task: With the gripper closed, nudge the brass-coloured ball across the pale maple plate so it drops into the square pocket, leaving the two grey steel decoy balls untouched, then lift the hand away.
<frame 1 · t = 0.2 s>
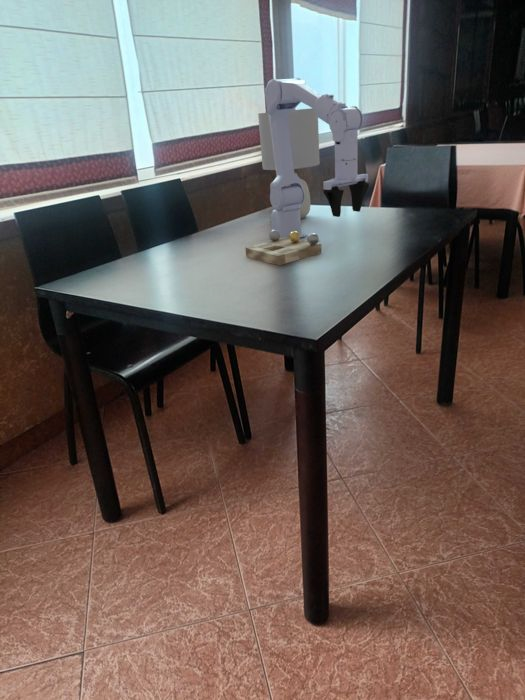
hand: (346, 213, 132), 10 cm above the table, fingers open, 7 cm apart
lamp: (294, 218, 184), on the table
decoy b: (312, 238, 134), point 4 cm above the table, touching plate
ball: (294, 236, 138), point 4 cm above the table, touching plate
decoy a: (274, 235, 142), point 4 cm above the table, touching plate
plate: (283, 254, 138), on the table
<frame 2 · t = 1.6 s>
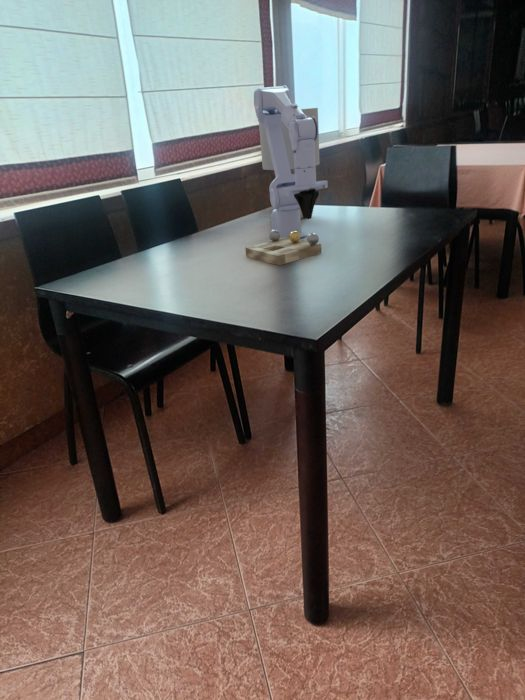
hand: (307, 218, 139), 8 cm above the table, fingers closed
nothing on the table moved.
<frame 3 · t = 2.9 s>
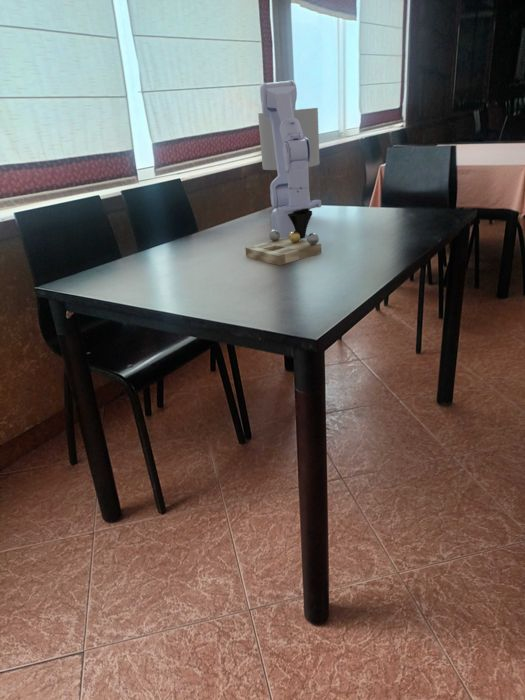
hand: (301, 237, 140), 3 cm above the table, fingers closed, pressing on ball
ball: (294, 236, 138), point 4 cm above the table, touching gripper, plate
everything else where it was.
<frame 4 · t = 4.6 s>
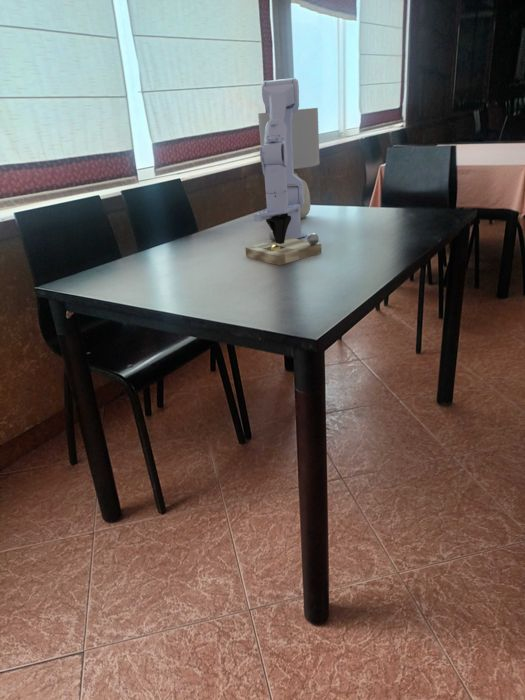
hand: (280, 243, 136), 3 cm above the table, fingers closed
ball: (275, 250, 136), point 2 cm above the table, tilted 120°
everything else where it was.
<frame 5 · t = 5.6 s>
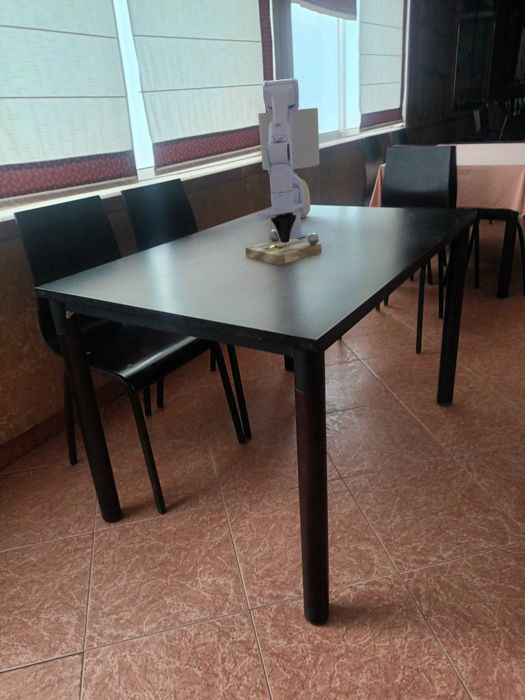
hand: (284, 241, 137), 3 cm above the table, fingers closed
ball: (273, 251, 135), point 2 cm above the table, tilted 97°
everything else where it was.
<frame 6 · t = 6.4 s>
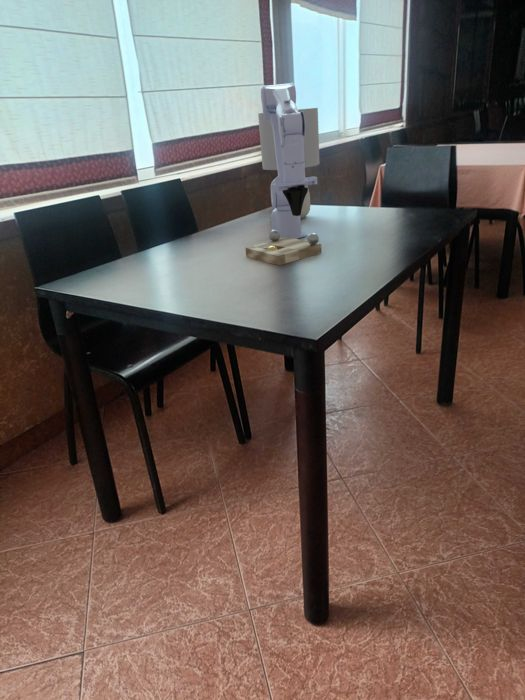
hand: (296, 215, 136), 10 cm above the table, fingers closed
ball: (272, 251, 135), point 2 cm above the table, tilted 78°
everything else where it was.
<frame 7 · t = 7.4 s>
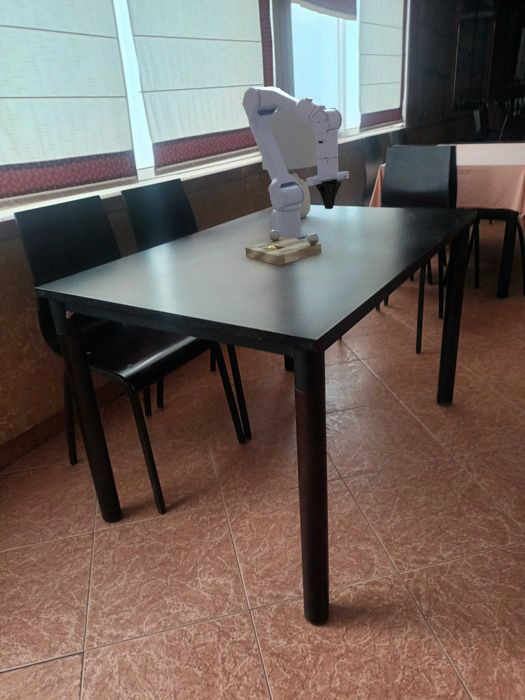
hand: (329, 208, 141), 10 cm above the table, fingers closed
nothing on the table moved.
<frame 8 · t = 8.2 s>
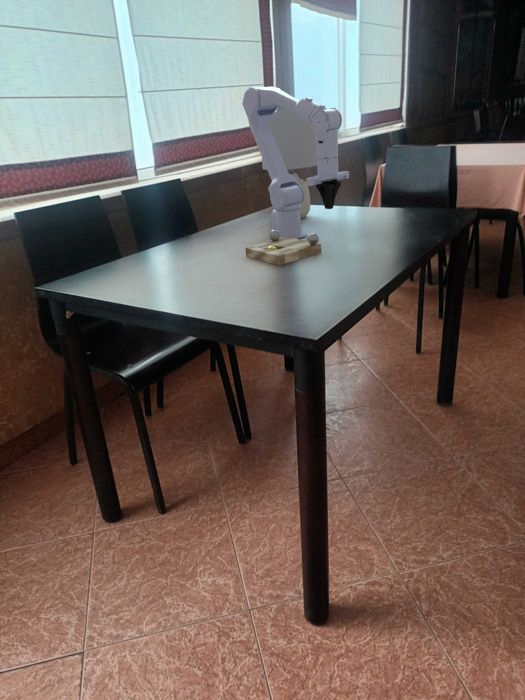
hand: (329, 208, 141), 10 cm above the table, fingers closed
nothing on the table moved.
at the end: ball 0.7 cm from the target spot on the plate, point 1.6 cm above the plate's base; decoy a moved 0.1 cm from its start; decoy b moved 0.1 cm from its start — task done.
